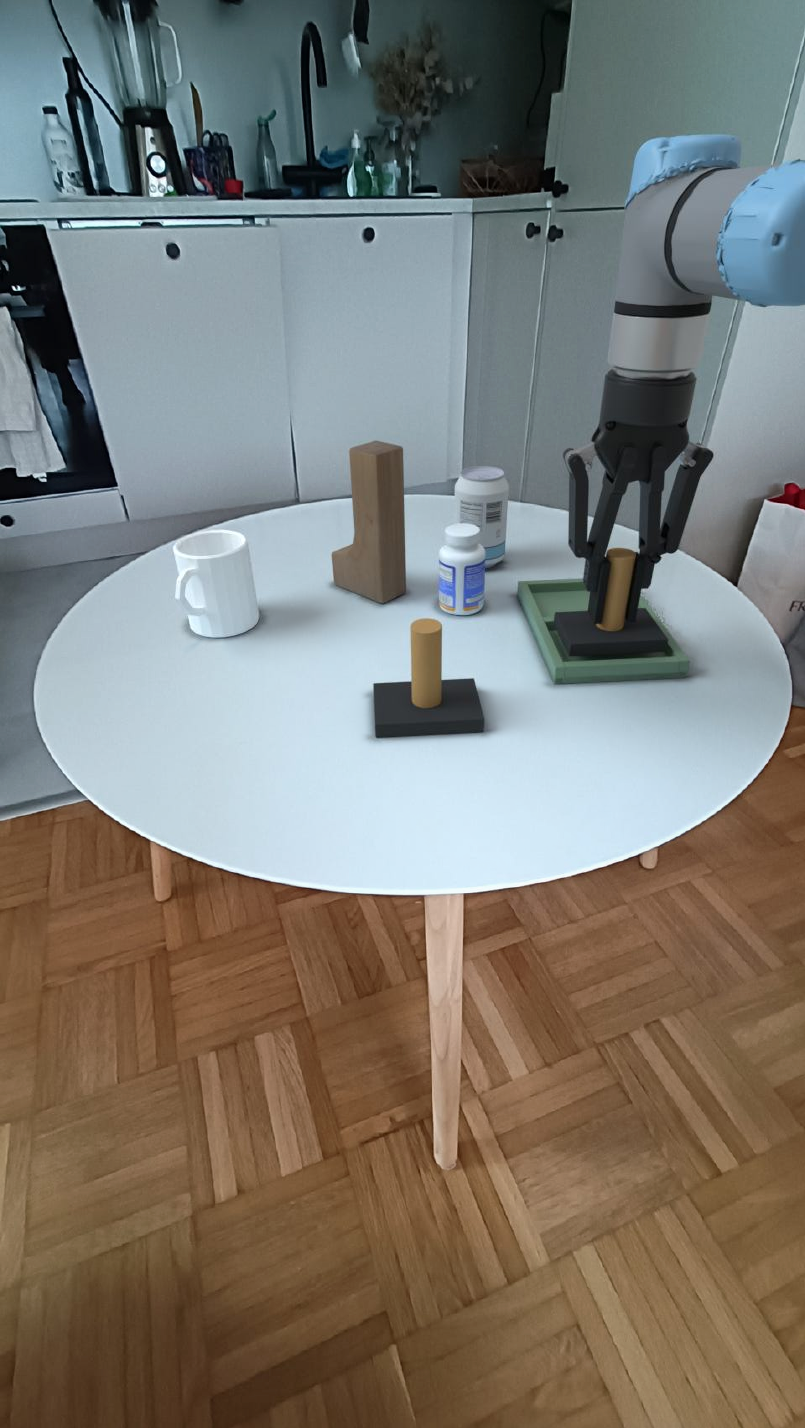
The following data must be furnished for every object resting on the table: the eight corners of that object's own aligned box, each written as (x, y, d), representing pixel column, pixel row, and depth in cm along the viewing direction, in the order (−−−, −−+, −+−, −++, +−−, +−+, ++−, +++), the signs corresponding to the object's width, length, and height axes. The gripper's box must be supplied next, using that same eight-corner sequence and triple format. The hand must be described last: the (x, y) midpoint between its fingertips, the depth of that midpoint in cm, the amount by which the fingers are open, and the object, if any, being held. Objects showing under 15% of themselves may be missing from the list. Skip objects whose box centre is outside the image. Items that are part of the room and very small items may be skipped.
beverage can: (503, 552, 100) (509, 464, 93) (504, 572, 95) (510, 481, 88) (454, 551, 101) (455, 464, 94) (452, 571, 95) (453, 480, 88)
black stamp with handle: (665, 652, 73) (684, 565, 68) (568, 656, 73) (579, 570, 67) (643, 619, 79) (659, 537, 73) (553, 624, 79) (562, 541, 73)
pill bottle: (484, 597, 89) (487, 520, 83) (482, 617, 84) (486, 538, 79) (440, 595, 89) (441, 519, 84) (436, 615, 85) (436, 537, 79)
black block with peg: (483, 732, 66) (488, 642, 61) (375, 737, 66) (370, 647, 60) (473, 690, 72) (476, 604, 66) (373, 695, 72) (368, 609, 66)
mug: (158, 650, 80) (137, 567, 74) (212, 602, 89) (197, 526, 84) (222, 659, 78) (205, 575, 72) (270, 610, 87) (259, 532, 82)
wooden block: (332, 584, 93) (320, 440, 82) (357, 573, 95) (348, 432, 85) (382, 605, 88) (376, 454, 77) (407, 593, 90) (404, 445, 80)
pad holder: (686, 677, 73) (690, 660, 72) (553, 684, 72) (555, 667, 71) (625, 590, 89) (627, 576, 88) (516, 595, 89) (517, 581, 88)
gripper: (724, 358, 64) (673, 597, 78) (548, 364, 64) (528, 604, 77) (763, 374, 58) (700, 630, 72) (569, 381, 57) (543, 638, 71)
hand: (611, 616), depth 74 cm, fingers closed on black stamp with handle, 3 cm apart
